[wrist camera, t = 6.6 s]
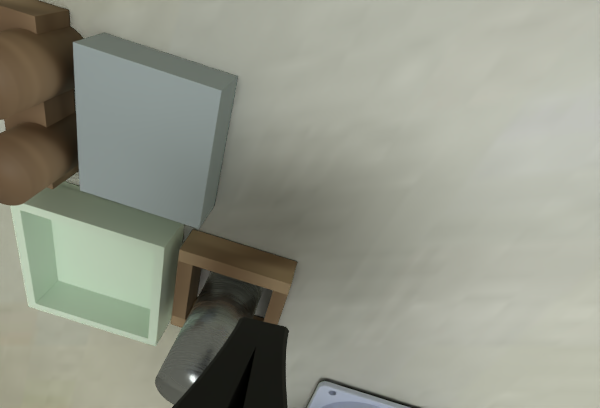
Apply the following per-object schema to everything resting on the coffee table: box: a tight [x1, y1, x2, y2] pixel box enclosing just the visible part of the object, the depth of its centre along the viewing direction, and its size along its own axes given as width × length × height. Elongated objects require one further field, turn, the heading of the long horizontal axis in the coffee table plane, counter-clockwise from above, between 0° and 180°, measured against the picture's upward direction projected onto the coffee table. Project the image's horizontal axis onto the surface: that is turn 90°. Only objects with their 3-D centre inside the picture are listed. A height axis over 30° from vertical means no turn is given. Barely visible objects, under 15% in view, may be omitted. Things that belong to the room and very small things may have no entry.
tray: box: [10, 182, 185, 346], centre depth 23 cm, size 8×8×2 cm
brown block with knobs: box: [0, 0, 83, 206], centre depth 17 cm, size 3×8×4 cm, turn 165°
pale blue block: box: [73, 33, 238, 229], centre depth 18 cm, size 6×7×2 cm
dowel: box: [155, 272, 263, 405], centre depth 21 cm, size 3×3×7 cm
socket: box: [171, 229, 297, 327], centre depth 23 cm, size 6×6×2 cm
